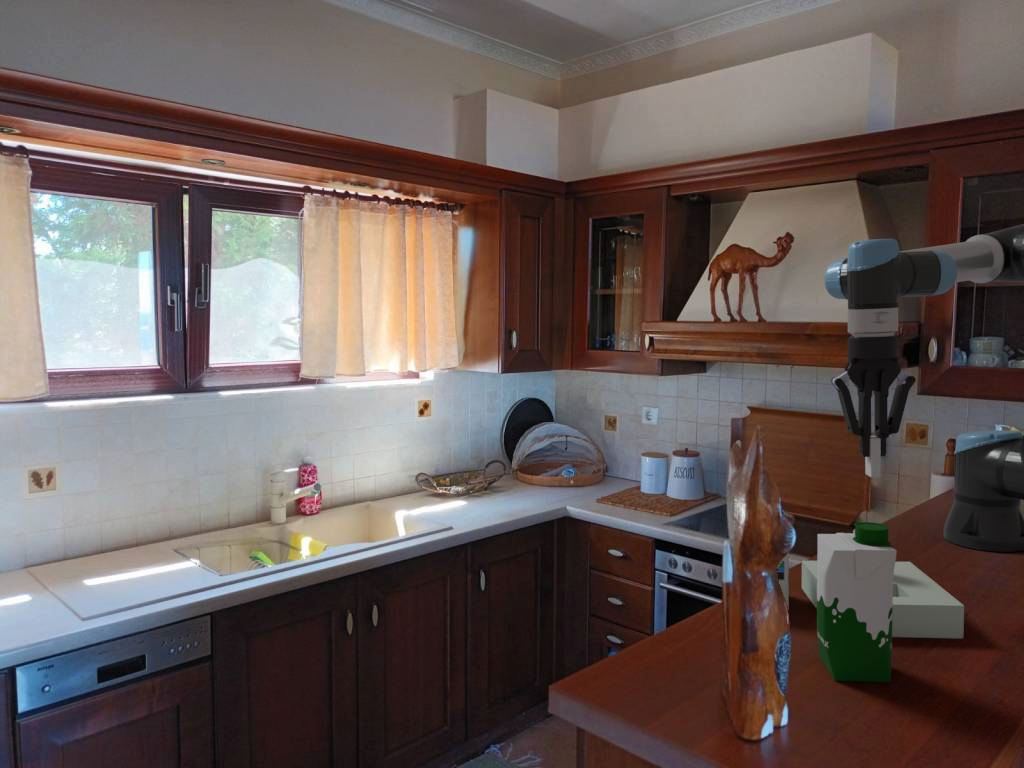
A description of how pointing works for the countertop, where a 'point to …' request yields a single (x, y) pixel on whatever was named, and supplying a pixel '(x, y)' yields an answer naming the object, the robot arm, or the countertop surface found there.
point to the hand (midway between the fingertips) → (872, 475)
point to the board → (910, 603)
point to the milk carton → (856, 603)
